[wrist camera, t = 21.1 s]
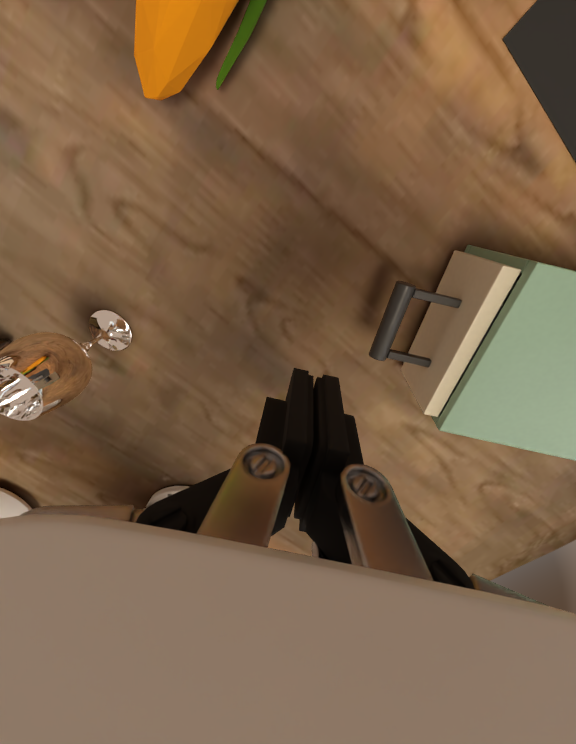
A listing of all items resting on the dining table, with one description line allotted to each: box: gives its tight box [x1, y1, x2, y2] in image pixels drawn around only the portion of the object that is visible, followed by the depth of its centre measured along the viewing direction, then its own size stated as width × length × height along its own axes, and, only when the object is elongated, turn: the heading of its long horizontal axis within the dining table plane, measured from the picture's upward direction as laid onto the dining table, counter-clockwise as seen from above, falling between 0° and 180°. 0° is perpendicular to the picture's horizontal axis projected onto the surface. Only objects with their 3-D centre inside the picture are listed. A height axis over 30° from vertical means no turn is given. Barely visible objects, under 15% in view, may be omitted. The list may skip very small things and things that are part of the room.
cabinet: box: [431, 245, 576, 461], centre depth 25 cm, size 15×13×9 cm
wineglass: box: [0, 310, 132, 421], centre depth 26 cm, size 6×6×12 cm
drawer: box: [369, 250, 521, 417], centre depth 24 cm, size 18×11×7 cm, turn 78°
